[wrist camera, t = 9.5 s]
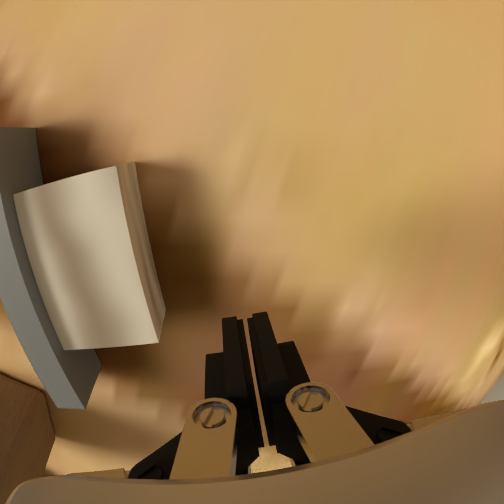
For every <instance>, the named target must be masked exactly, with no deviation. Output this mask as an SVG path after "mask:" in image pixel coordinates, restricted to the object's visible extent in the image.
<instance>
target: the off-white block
mask: <svg viewBox="0 0 504 504" xmlns="http://www.w3.org/2000/svg"><path fill="white" fill-rule="evenodd" d="M13 198H14V203H15V208H16V212H17V217H18V221H19V225H20V229H21V233H22V237H23V241H24V244H25V248H26V251H27V255H28V258H29V262H30V265H31V268H32V271H33V274H34V277H35V280H36V283H37V286H38V289H39V292H40V294H41V297H42V300H43V302H44V305H45V308H46V310H47V313H48V315H49V318H50V320H51V322H52V325H53V327H54V329H55V332H56V334H57V336H58V339H59V341H60V343H61V345H62V347H63V349H64V350H77V349H94V348H108V347H120V346H132V345H142V344H152V343H159V340H160V335H161V330H162V326H163V321H164V317H165V312H166V308H165V304H164V300H163V296H162V292H161V288H160V284H159V280H158V276H157V272H156V268H155V264H154V259H153V255H152V251H151V246H150V241H149V237H148V232H147V227H146V222H145V217H144V212H143V207H142V201H141V196H140V190H139V184H138V178H137V172H136V166H135V162H131V163H126V164H121V165H117V166H112V167H108V168H104V169H100V170H96V171H92V172H88V173H84V174H80V175H76V176H73V177H69V178H65V179H62V180H58V181H55V182H52V183H48V184H45V185H42V186H38V187H35V188H32V189H29V190H26V191H23V192H20V193H17V194H14V195H13Z"/></svg>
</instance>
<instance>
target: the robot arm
mask: <svg viewBox="0 0 504 504" xmlns="http://www.w3.org/2000/svg"><path fill="white" fill-rule="evenodd" d="M252 317H253V318H247V321H248V328H249V334H250V341H251V347H252V354H253V361H254V367H255V373H256V379H257V385H258V390H259V395H260V400H261V406H262V411H263V416H264V421H265V426H266V431H267V436H268V441H269V446H272V445H276V449H277V453H280V454H282V455H285V456H287V457H289V458H290V461H291V465H292V467H289V468H283V469H278V470H272V471H266V472H259V473H252V474H251V467H250V464H251V463H252V462H253V461H255V460H256V459H257V458H258V457H259V450H258V448H260V447H264V442H263V436H262V430H261V425H260V419H259V413H258V407H257V401H256V395H255V389H254V383H253V378H252V372H251V366H250V360H249V354H248V349H247V343H246V337H245V331H244V325H243V319H240V320H237V317H236V316H235V317H228V318H222V331H223V352H221V353H213V354H206V365H205V400H201V401H199V402H198V403H196V404H194V405H193V406H192V407H191V408H190V410H189V412H188V414H187V417H186V421H185V424H184V428H183V431H182V432H181V433H180V434H178V435H177V436H176V437H174V438H173V439H171V440H170V441H169V442H167V443H166V444H165V445H163V446H162V447H160V448H159V449H158V450H156V451H155V452H153V453H152V454H150V455H149V456H148V457H146V458H145V459H143V460H142V461H140V462H139V463H137V464H136V465H135V466H134V467H133V468H132V469H131V470H130V471H125V470H124V468H121V469H113V470H105V471H94V472H82V473H71V474H67V475H57V476H46V477H40V478H34V479H31V480H28V481H25V482H23V483H21V484H20V485H18V486H17V487H16V488H15V489H14V490H13V492H12V493H11V494H10V496H9V498H8V499H7V501H6V503H5V504H504V400H499V401H494V402H488V403H484V404H480V405H477V406H473V407H470V408H468V409H459V410H456V411H452V412H448V413H444V414H440V415H435V416H431V417H426V418H422V419H417V420H412V421H411V424H407V425H406V424H405V423H403V422H400V421H397V420H393V419H390V418H386V417H382V416H378V415H375V414H371V413H368V412H364V411H361V410H357V409H354V408H351V407H347V406H344V404H343V403H342V402H341V400H340V399H339V398H338V396H337V395H336V394H335V392H334V391H333V390H332V389H331V388H330V387H329V386H327V385H324V384H322V383H317V382H310V379H309V377H308V375H307V372H306V370H305V367H304V365H303V363H302V360H301V358H300V355H299V353H298V350H297V348H296V346H295V343H294V341H290V342H284V343H279V344H277V342H276V339H275V336H274V333H273V330H272V326H271V323H270V320H269V317H268V314H267V312H261V313H254V314H252Z"/></svg>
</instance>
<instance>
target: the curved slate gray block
mask: <svg viewBox="0 0 504 504" xmlns="http://www.w3.org/2000/svg"><path fill="white" fill-rule="evenodd" d="M42 185H44V184H43V179H42V173H41V166H40V160H39V153H38V145H37V136H36V128H22V127H0V298H1V301H2V303H3V306H4V308H5V310H6V313H7V315H8V317H9V320H10V322H11V324H12V326H13V329H14V331H15V333H16V335H17V337H18V339H19V341H20V343H21V345H22V347H23V349H24V351H25V353H26V355H27V357H28V359H29V361H30V363H31V365H32V367H33V368H34V370H35V372H36V374H37V376H38V377H39V379H40V381H41V382H42V384H43V386H44V387H45V389H46V391H47V392H48V394H49V396H50V397H51V399H52V400H53V402H54V403H55V405H56V407H57V408H65V409H86V406H87V403H88V400H89V398H90V395H91V392H92V390H93V387H94V384H95V382H96V379H97V376H98V374H99V371H100V369H101V366H102V365H101V363H100V361H99V359H98V357H97V354H96V352H95V350H94V349H77V350H64V349H63V347H62V345H61V343H60V341H59V339H58V336H57V334H56V332H55V329H54V327H53V325H52V322H51V320H50V318H49V315H48V313H47V310H46V308H45V305H44V302H43V300H42V297H41V294H40V292H39V289H38V286H37V283H36V280H35V277H34V274H33V271H32V268H31V265H30V262H29V258H28V255H27V251H26V248H25V244H24V241H23V237H22V233H21V229H20V225H19V221H18V217H17V212H16V208H15V203H14V198H13V195H14V194H17V193H20V192H23V191H26V190H29V189H32V188H35V187H38V186H42Z"/></svg>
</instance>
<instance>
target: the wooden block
mask: <svg viewBox="0 0 504 504" xmlns="http://www.w3.org/2000/svg"><path fill="white" fill-rule="evenodd" d="M54 441H55V434H54V430H53V427H52V423H51V419H50V415H49V411H48V407H47V403H46V398H45V395H44V394H43V393H42V392H41V391H39V390H37V389H35V388H32V387H30V386H27V385H25V384H22V383H20V382H18V381H15V380H13V379H11V378H9V377H6V376H4V375H2V374H0V504H5V503H6V501H7V499H8V498H9V496H10V494H11V493H12V492H13V490H14V489H15V488H16V487H17V486H18V485H20V484H21V483H23V482H25V481H28V480H31V479H34V478H40V477H42V476H43V473H44V470H45V467H46V464H47V461H48V458H49V455H50V452H51V449H52V447H53V444H54Z"/></svg>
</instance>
